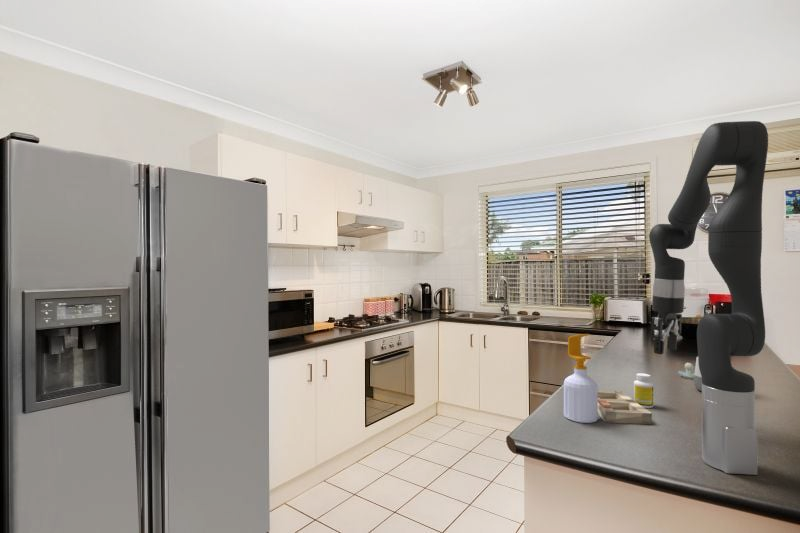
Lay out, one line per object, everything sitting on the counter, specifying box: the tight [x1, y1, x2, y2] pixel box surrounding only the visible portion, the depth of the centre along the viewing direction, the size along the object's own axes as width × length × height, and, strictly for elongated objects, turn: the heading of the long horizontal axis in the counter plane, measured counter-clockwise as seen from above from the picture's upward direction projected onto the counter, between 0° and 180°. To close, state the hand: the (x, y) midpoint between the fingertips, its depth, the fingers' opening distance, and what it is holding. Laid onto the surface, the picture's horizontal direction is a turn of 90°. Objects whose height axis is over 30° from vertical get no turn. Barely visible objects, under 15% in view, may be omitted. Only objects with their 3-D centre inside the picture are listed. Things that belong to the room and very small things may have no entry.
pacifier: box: [677, 362, 695, 380], centre depth 166 cm, size 7×6×6 cm
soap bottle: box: [563, 333, 599, 424], centre depth 121 cm, size 9×9×25 cm
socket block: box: [598, 390, 653, 425], centre depth 127 cm, size 21×12×4 cm, turn 173°
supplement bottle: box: [633, 372, 654, 409], centre depth 132 cm, size 5×5×10 cm
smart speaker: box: [693, 356, 702, 393], centre depth 146 cm, size 10×9×14 cm
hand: (665, 351), depth 119 cm, fingers open, 8 cm apart
